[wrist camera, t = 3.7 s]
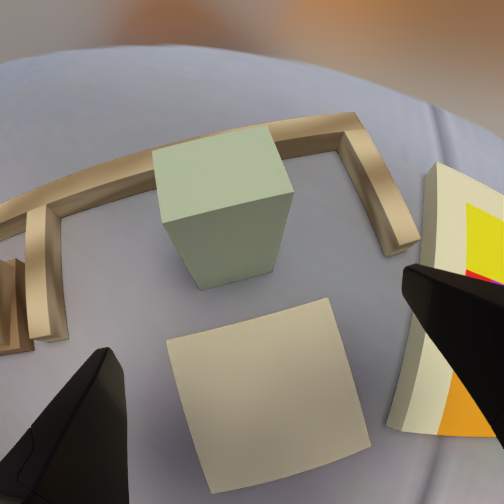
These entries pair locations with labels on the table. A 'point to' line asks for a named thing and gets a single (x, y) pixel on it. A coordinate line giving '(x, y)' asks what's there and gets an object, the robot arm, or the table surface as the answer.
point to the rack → (143, 179)
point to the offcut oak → (5, 301)
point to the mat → (268, 396)
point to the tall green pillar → (224, 204)
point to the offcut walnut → (18, 314)
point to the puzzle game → (461, 262)
